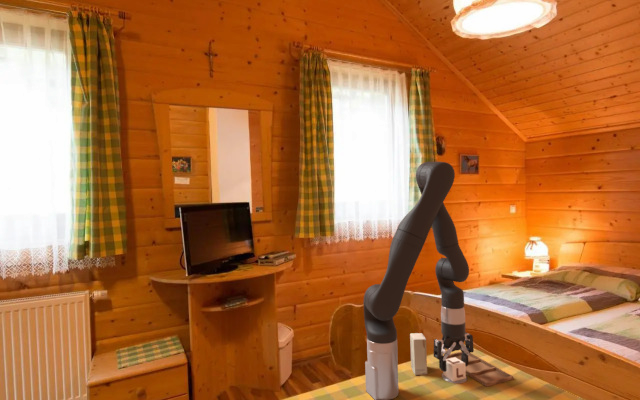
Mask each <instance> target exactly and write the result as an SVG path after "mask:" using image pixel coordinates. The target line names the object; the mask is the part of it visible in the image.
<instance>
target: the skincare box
mask: <svg viewBox="0 0 640 400" xmlns="http://www.w3.org/2000/svg"><path fill="white" fill-rule="evenodd" d="M409 339H410V340H409V341H410V343H409V345H410V367H411V371H412V372H413V375H415V376H419V375H423V376H425V375H428V360H427V359H428V358H427V357H428V356H427V338H426V337H425V335H424V334H423V333H422V332H421V333H420V332H419V333H418V332H415V333H412V332H411V333H410V334H409Z"/></svg>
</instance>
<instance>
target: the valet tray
mask: <svg viewBox="0 0 640 400" xmlns="http://www.w3.org/2000/svg"><path fill="white" fill-rule="evenodd" d="M461 353H462V352H461V351H458V352H454V353H453V352H452V353H450V355H448V356H447V358H446V359H449V358H453V357H456V358H457V359H459V360H461ZM466 376H469V378H472V379H473V380H475V381H477V382H478V383H480V384H481V385H483V386H485V387H490V386H493V385H494V386H495V385H498V384H501V383H505V382H508V381H512V380H514V379H515V378H514V375H512V374H510V373H508V372H506V371H505V370H502V369H501V368H499V367H497V366H495V365H493V364H492V363H489V362H488V361H486V360H484V359H482V358H481V357H479V356H477V355H475V354H473V353H472V352H470V353H469V355H468V366H466Z"/></svg>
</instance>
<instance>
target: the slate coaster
mask: <svg viewBox="0 0 640 400" xmlns="http://www.w3.org/2000/svg"><path fill="white" fill-rule="evenodd" d="M441 378H442V379H443V381H446V382H448V383H452V384H463V383H465V382H467V381H468V375H466V378H465V379H461V380H457V381H452V380H450V379H449V378H447V377H446V376H444V375H443V372H442V373H441Z"/></svg>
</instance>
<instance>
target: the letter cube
mask: <svg viewBox="0 0 640 400" xmlns="http://www.w3.org/2000/svg"><path fill="white" fill-rule="evenodd" d="M442 373H443V375H444V376H446V377H447V378H449V379H450V380H452V381H457V380H461V379H465V378H466V376H467V374H466V366H465V363H464V362H463V361H461V360H459V359H457V358H456V357H453V358H449V359H446V371H445V372H444V371H442Z"/></svg>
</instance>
